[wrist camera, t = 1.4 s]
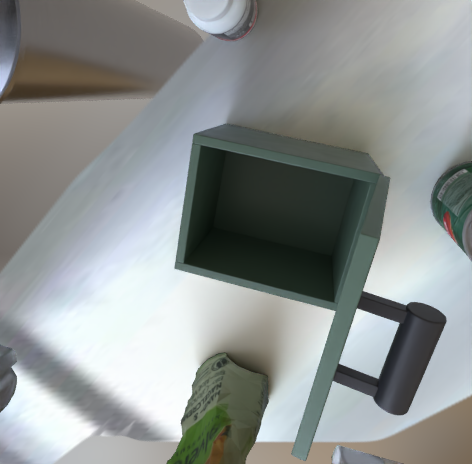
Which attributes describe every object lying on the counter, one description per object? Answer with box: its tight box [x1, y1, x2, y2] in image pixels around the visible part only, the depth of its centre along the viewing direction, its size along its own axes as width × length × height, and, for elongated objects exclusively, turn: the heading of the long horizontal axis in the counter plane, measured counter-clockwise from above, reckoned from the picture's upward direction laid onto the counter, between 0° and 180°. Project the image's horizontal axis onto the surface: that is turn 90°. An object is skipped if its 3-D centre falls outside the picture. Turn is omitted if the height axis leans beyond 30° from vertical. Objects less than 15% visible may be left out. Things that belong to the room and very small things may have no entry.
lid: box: [291, 175, 446, 461], centre depth 26 cm, size 16×13×5 cm
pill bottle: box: [183, 0, 257, 41], centre depth 36 cm, size 5×5×10 cm
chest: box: [175, 124, 384, 311], centre depth 40 cm, size 16×13×12 cm
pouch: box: [167, 352, 269, 464], centre depth 44 cm, size 11×12×25 cm
